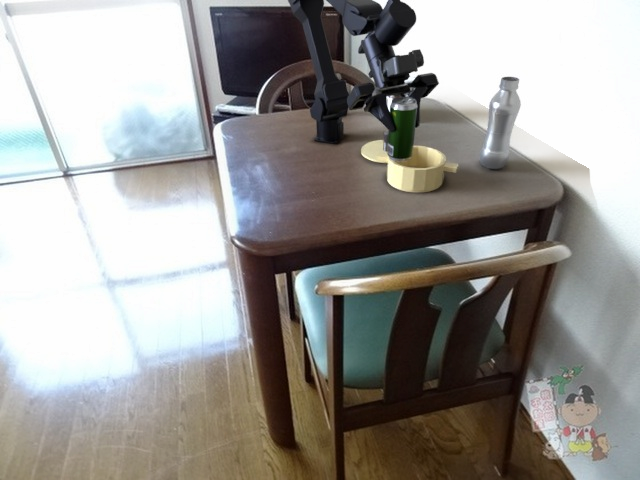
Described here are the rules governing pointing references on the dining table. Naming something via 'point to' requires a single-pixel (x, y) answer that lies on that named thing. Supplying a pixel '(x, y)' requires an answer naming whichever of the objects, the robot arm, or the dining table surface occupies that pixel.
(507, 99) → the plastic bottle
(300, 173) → the dining table surface
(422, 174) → the pot
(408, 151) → the beer can
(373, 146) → the pot lid
